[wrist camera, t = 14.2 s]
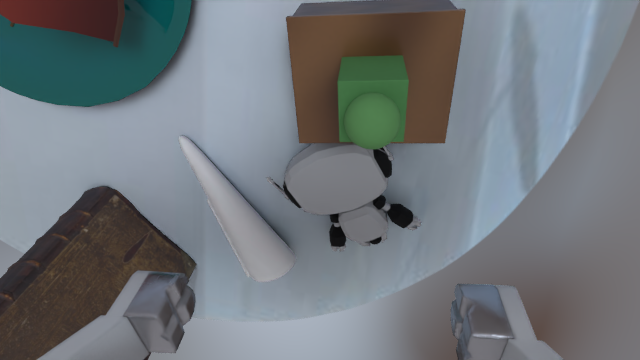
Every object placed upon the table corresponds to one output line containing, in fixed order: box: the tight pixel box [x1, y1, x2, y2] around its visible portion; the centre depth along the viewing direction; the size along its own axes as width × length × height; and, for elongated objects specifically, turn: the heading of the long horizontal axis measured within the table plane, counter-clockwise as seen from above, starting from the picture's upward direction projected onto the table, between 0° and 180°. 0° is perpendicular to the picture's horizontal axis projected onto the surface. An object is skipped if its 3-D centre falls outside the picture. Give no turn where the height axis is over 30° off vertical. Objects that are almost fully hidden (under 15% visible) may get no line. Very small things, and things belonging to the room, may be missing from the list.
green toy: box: [337, 55, 409, 149], centre depth 26 cm, size 4×4×8 cm
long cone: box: [178, 136, 296, 282], centre depth 43 cm, size 6×6×19 cm
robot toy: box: [267, 143, 421, 251], centre depth 40 cm, size 12×4×15 cm
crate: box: [286, 0, 466, 143], centre depth 31 cm, size 12×10×6 cm
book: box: [0, 187, 196, 360], centre depth 40 cm, size 17×7×25 cm, turn 25°
